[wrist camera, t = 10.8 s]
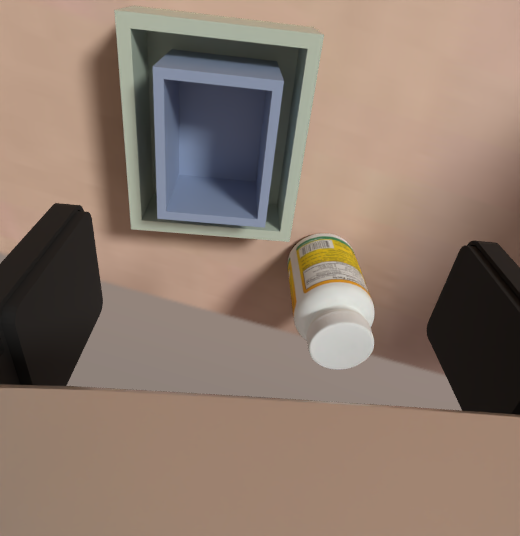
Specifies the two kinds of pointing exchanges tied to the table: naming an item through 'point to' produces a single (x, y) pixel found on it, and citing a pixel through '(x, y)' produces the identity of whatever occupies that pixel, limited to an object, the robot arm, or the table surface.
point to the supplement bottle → (331, 301)
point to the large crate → (222, 43)
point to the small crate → (215, 136)
